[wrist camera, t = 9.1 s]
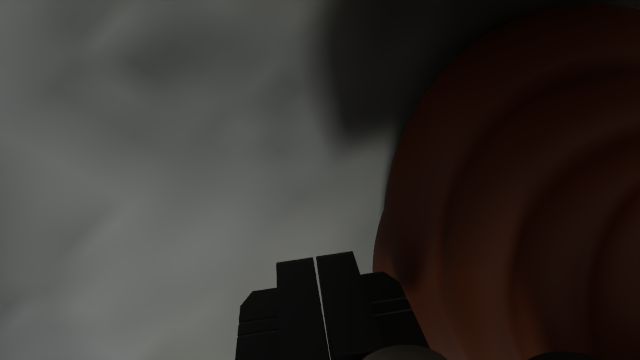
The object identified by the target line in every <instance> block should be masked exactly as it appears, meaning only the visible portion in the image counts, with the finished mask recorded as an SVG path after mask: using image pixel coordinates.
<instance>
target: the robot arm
mask: <svg viewBox="0 0 640 360" xmlns="http://www.w3.org/2000/svg"><path fill="white" fill-rule="evenodd" d="M316 260H317V268H318V275H319V282H320V289H321V296H322V303H323V310H324V317H325V324H326V331H327V338H328V345H329V351H330V357H331V360H447V359H446V358H445V357H444V356H443V355H442V354H440V353H438V352H436V351H434V350H432V349H430V347H429V345H428V342H427V340H426V338H425V336H424V334H423V332H422V329H421V327H420V325H419V323H418V321H417V319H416V316H415V314H414V312H413V311H412V309H411V306H410V303H409V301H408V299H406V295H405V293H404V290H403V288H402V286H401V284H400V282H399V281H398V280H396V279H395V278H393V277H391V276H390V275H388V274H387V273H385V272H384V271H382V272H375V273H369V274H362V275H360V272H359V269H358V266H357V263H356V260H355V257H354V254H353V251H350V252H343V253H337V254H330V255H323V256H317V257H316ZM276 270H277V288H271V289H265V290H258V291H252V293H251V294H250V295H249V296H248V298H247V299H246V300H245V301H244V302H243V304H242V305H241V306H240V315H239V325H238V338H237V346H236V356H235V360H330V357H329V351H328V345H327V339H326V333H325V327H324V321H323V315H322V309H321V303H320V297H319V291H318V285H317V279H316V273H315V267H314V261H313V257H311V258H304V259H298V260H291V261H284V262H278V263H276ZM528 360H603V359H600V358H598V357H595V356H591V355H588V354H583V353H578V352H569V351H556V352H548V353H543V354H539V355H536V356H534V357H532V358H530V359H528Z"/></svg>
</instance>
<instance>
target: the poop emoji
mask: <svg viewBox="0 0 640 360" xmlns="http://www.w3.org/2000/svg"><path fill="white" fill-rule="evenodd" d="M382 271H384V272H385V273H387V274H388V275H390V276H391V277H393V278H395V279H396V280H398V281H399V282H400V284H401V286H402V288H403V290H404V293H405V295H406V299H408V301H409V303H410V306H411V309H412V311H413V312H414V314H415V316H416V319H417V321H418V323H419V325H420V327H421V329H422V332H423V334H424V336H425V338H426V340H427V342H428V345H429V347H430V349H432V350H434V351H436V352H438V353H440V354H442V355H443V356H444V357H445V358H446V359H447V360H528V359H530V358H532V357H534V356H536V355H539V354H543V353H548V352H556V351H569V352H578V353H583V354H588V355H591V356H595V357H598V358H600V359H603V360H640V10H637V9H633V8H628V7H623V6H617V5H608V4H573V5H565V6H558V7H553V8H549V9H544V10H540V11H537V12H534V13H530V14H528V15H525V16H522V17H519V18H517V19H515V20H512V21H510V22H508V23H506V24H504V25H502V26H500V27H498V28H496V29H494V30H493V31H491V32H489V33H488V34H486V35H484V36H483V37H482V38H480V39H479V40H477V41H476V42H474V43H473V44H472V45H470V46H469V47H468V48H467V49H465V50H464V51H463V52H462V53H461V54H459V55H458V56H457V57H456V58H455V59H454V60H453V61H452V62H451V63H450V64H449V65H448V66H447V67H446V68H445V69H444V70H443V71H442V73H441V74H440V75H439V76H438V77H437V78H436V80H435V81H434V82H433V83H432V85H431V86H430V87H429V89H428V90H427V91H426V93H425V94H424V96H423V97H422V99H421V100H420V102H419V103H418V105H417V107H416V109H415V110H414V112H413V114H412V116H411V118H410V120H409V121H408V123H407V126H406V128H405V130H404V132H403V135H402V137H401V139H400V142H399V145H398V148H397V150H396V153H395V157H394V160H393V163H392V167H391V171H390V175H389V180H388V185H387V191H386V197H385V206H384V211H383V214H382V217H381V220H380V223H379V226H378V231H377V235H376V240H375V246H374V254H373V273H375V272H382Z"/></svg>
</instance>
